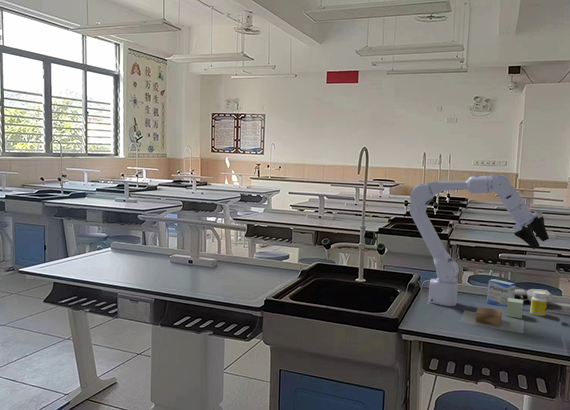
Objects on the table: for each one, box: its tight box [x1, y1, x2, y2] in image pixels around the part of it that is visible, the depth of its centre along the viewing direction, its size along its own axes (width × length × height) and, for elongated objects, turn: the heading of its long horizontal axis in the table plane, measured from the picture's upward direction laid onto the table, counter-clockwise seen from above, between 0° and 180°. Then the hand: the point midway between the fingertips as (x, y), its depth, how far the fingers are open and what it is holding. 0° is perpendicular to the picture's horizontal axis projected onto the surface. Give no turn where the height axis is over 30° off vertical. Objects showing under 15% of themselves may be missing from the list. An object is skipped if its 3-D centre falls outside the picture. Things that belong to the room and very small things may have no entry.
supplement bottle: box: [529, 291, 548, 317], centre depth 164 cm, size 5×5×8 cm
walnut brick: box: [475, 306, 503, 326], centre depth 155 cm, size 7×7×3 cm
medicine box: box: [486, 278, 516, 308], centre depth 176 cm, size 8×4×9 cm, turn 42°
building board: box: [458, 310, 525, 334], centre depth 155 cm, size 18×14×1 cm
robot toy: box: [514, 288, 553, 303], centre depth 182 cm, size 12×4×15 cm
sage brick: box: [505, 298, 524, 319], centre depth 162 cm, size 4×4×6 cm
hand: (541, 243), depth 158 cm, fingers open, 7 cm apart
